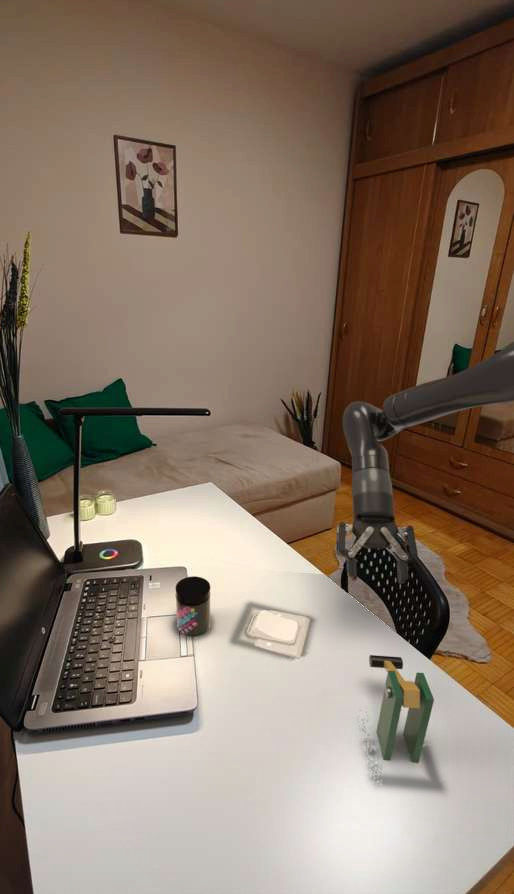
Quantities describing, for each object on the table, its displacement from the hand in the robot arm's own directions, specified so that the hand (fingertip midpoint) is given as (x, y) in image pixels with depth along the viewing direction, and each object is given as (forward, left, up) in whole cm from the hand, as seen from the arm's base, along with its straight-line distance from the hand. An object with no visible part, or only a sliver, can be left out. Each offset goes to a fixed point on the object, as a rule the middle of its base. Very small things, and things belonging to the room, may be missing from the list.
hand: (378, 581), depth 79 cm
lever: (0, +16, -7) cm, 17 cm away
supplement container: (+34, -2, -16) cm, 38 cm away
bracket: (0, +20, -15) cm, 26 cm away
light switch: (+18, -2, -16) cm, 24 cm away
